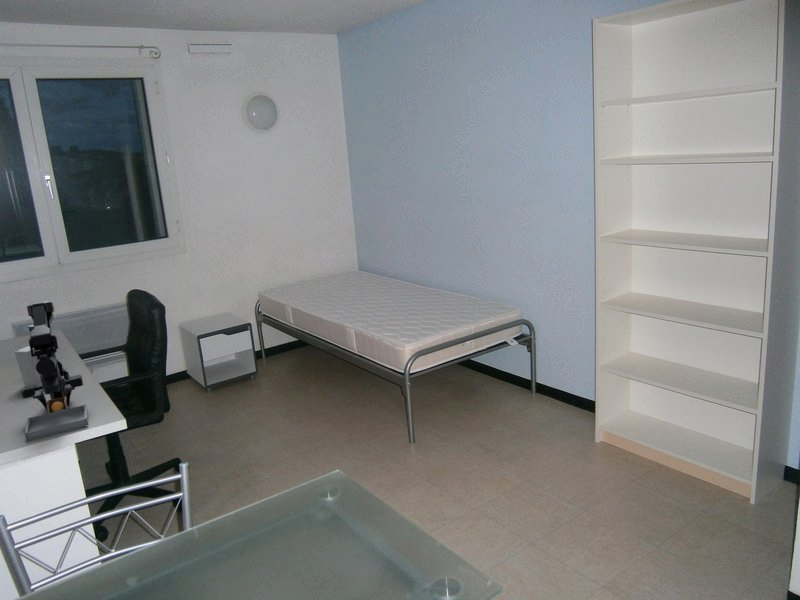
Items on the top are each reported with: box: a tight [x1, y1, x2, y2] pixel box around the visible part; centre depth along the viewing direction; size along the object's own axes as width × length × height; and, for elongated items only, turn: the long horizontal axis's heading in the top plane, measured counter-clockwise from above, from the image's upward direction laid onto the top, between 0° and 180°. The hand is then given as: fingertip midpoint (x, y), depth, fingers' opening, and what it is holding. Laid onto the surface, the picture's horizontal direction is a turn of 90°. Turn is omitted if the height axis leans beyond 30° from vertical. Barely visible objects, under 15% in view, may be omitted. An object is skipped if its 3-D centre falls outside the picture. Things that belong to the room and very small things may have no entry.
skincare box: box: [13, 345, 42, 387], centre depth 251 cm, size 8×7×16 cm
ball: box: [51, 402, 64, 412], centre depth 217 cm, size 4×4×4 cm
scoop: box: [46, 397, 70, 414], centre depth 218 cm, size 7×6×4 cm
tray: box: [24, 404, 89, 441], centre depth 208 cm, size 15×18×2 cm
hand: (58, 408), depth 219 cm, fingers closed on scoop, 6 cm apart
